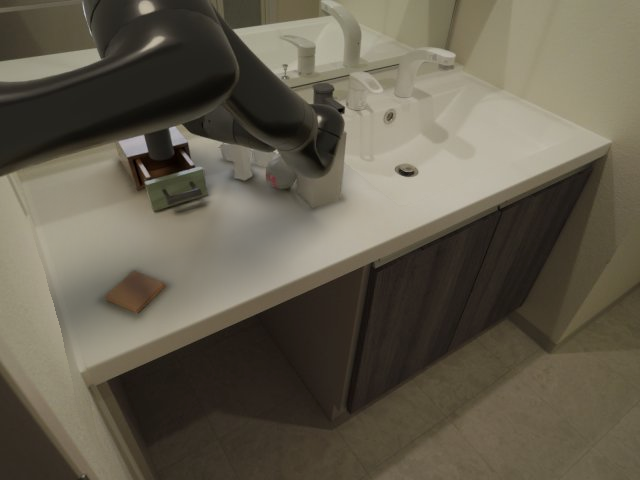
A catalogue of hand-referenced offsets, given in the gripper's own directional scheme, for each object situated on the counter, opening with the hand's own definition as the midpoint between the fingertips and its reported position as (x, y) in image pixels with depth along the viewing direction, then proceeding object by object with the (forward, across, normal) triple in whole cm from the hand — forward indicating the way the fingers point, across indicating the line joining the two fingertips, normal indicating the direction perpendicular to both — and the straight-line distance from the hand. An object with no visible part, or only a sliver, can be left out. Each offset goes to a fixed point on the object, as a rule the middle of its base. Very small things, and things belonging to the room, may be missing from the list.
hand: (135, 94), depth 70 cm
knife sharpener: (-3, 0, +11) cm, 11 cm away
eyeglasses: (-10, -20, +19) cm, 29 cm away
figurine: (-21, -12, +19) cm, 31 cm away
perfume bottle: (-12, -12, +19) cm, 26 cm away
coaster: (-15, +23, +19) cm, 34 cm away
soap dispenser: (-30, -12, +19) cm, 38 cm away
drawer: (-4, 0, +18) cm, 19 cm away
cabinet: (+6, -6, +19) cm, 21 cm away
